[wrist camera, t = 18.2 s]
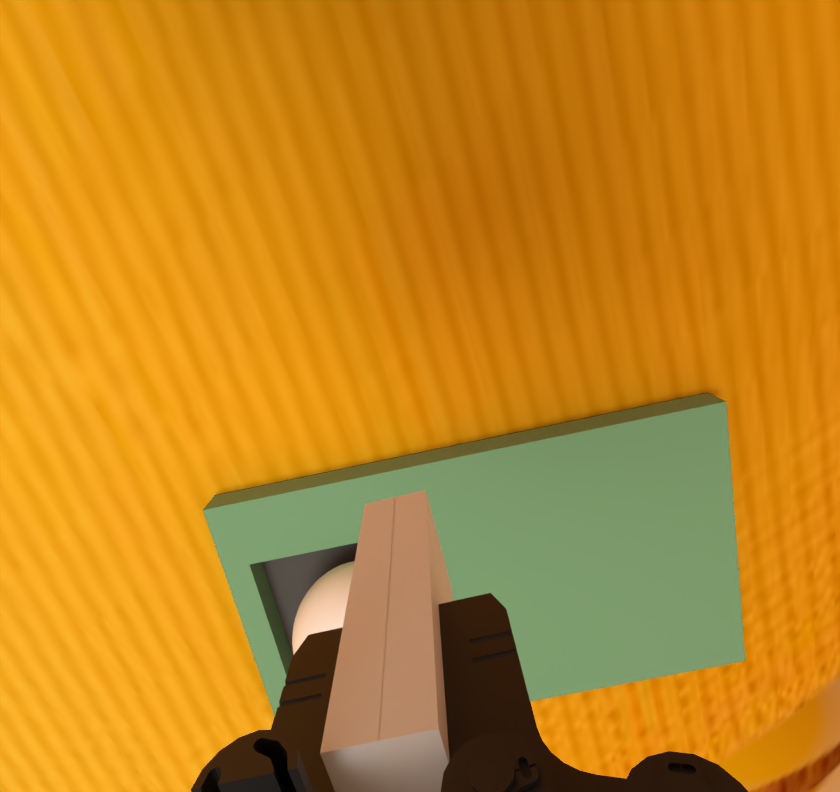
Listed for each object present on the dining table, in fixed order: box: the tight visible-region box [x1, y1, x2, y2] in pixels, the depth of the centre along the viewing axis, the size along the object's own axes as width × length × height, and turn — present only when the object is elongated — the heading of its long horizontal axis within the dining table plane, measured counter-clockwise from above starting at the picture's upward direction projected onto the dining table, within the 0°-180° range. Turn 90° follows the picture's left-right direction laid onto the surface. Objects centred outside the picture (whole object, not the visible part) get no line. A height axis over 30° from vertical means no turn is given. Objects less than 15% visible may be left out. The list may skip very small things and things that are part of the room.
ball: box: [292, 561, 355, 654], centre depth 39 cm, size 10×10×10 cm
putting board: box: [203, 393, 745, 716], centre depth 42 cm, size 38×22×2 cm, turn 102°
